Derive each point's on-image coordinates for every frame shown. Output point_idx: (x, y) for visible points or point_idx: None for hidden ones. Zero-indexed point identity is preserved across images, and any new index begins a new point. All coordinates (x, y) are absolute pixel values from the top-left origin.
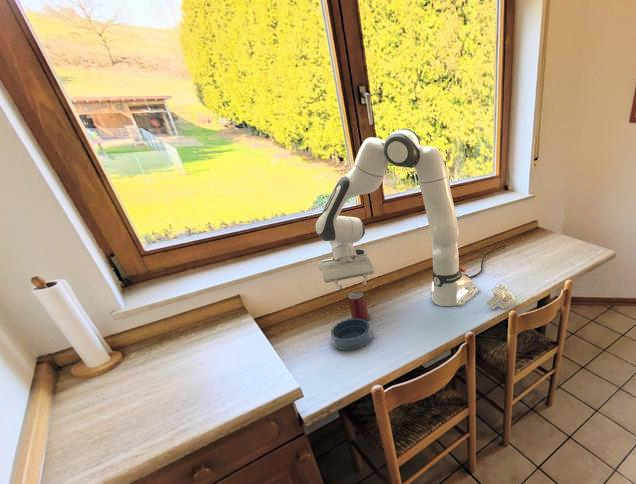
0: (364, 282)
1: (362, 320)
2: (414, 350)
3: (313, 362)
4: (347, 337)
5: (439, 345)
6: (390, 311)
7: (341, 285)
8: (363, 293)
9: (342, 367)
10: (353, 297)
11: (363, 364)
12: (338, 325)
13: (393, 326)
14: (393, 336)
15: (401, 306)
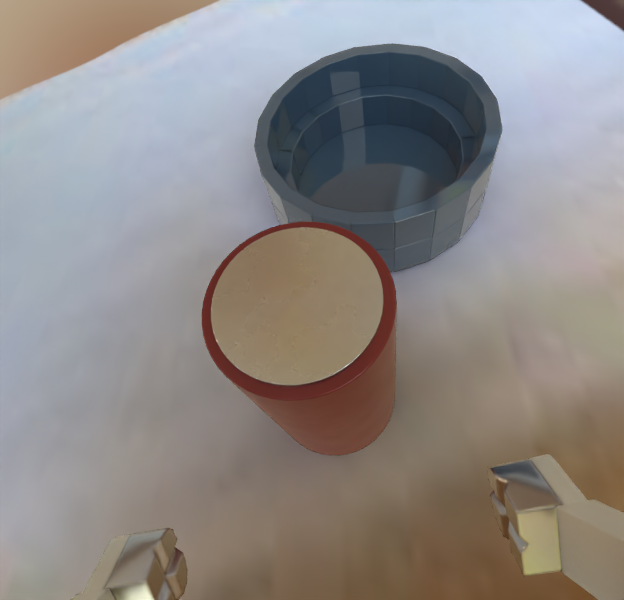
0: (128, 556)
1: (295, 192)
2: (113, 81)
3: (550, 58)
4: (408, 201)
5: (14, 96)
6: (117, 448)
7: (519, 507)
8: (210, 330)
9: (405, 24)
10: (323, 252)
11: (320, 32)
12: (463, 176)
13: (146, 260)
14: (168, 177)
15: (24, 503)
